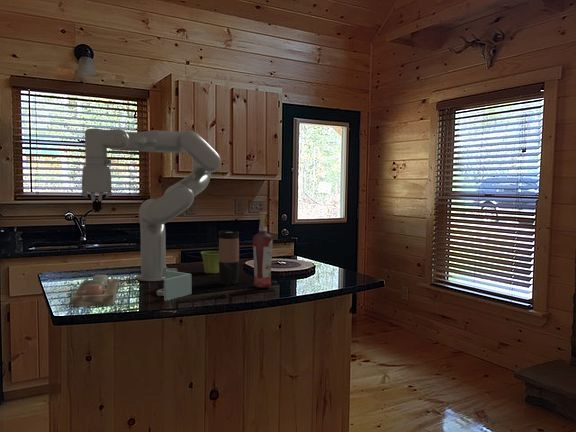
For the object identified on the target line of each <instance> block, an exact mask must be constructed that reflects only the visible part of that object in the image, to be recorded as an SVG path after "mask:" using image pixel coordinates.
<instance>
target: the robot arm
mask: <svg viewBox="0 0 576 432" xmlns="http://www.w3.org/2000/svg"><path fill="white" fill-rule="evenodd" d="M108 149H110V150H112V151H115V152H116V151H119V152H121V151H122V152H123V151H125V152H146V153H170V154H174V153H175V154H188V155H189V156H191V158H192V159H193V160H192V170H191V172H190V173H189V174H188V175H187V176H184V177H183V178H182V179H181V180H179V181H177V182H175V183H174V184H172V185H171V186H169V187H168V188H166V190H165V191H164V193H163V195H161V196H159V197H158V198H157V199H156V198H148V199H146V200H145V201H143V202H142V203H141V205H140V207H139V210H138V211H139V212H138V218H139V225H140V231H139V232H140V274H137V276H136V279H137V280H139V281H141V282H161V281H164V279H165V270H168V271H175V272H178V268H174V267H173V268H169V267H168V266H167V265H166V263H167V261H166V258H167V257H166V256H167V255H166V254H167V253H166V247H167V246H166V243H167V242H166V239H167V238H166V234H167V233H166V225H165V224H167V223H168V222H169V221H172V220H173V219H174V218H176V217H177V216H179V215H180V214H183V212H185V211H186V210H188V209H189V208H190V207H191V206H192V205H193V203H194V200H195V197H196V196H198V195H199V194H201V193H202V192H203V191H204V190H206V188H207V187H208V185H209V184H210V181H211V176H212V174H213V173H215V172H217V171H219V170H220V168H221V166H222V159H221V156H220V154H218V152H217V151H216V150H215V149H214V148H213V147H212V146H211V145H210V144H209V143H208V142H207V141H206V140H205V139H203V137H202V136H201V135H200V134H199V133H197V132H196V131H193V130H186V131H185V130H184V131H174V130H173V131H172V130H171V131H170V130H160V129H159V130H155V129H154V130H147V131H133V132H132V131H125V130H124V129H121V128H115V129H102V128H87V129H86V130H85V132H84V153H85V154H84V155H85V156H84V157H85V159H84V160H85V165H84V166H83V169H82V175H81V196H82V197H86V198H87V199H90V201H91V202H92V210H93V212H94V213H100V212H101V211H102V210H103V209H102V208H103V206H102V201H103V200H104V199H105V198H108V197H112V196H113V192H112V189H113V188H112V187H113V186H112V184H113V183H112V172H111V167H110V166H108V165H109V164H112V159H110V158H109V159H108ZM96 194H98V198H96Z"/></svg>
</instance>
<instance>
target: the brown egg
mask: <svg viewBox="0 0 576 432" xmlns="http://www.w3.org/2000/svg"><path fill="white" fill-rule="evenodd" d="M86 291H87V295H101V294H103V287H102V284H90V285H87V286H86Z"/></svg>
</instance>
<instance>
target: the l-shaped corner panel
mask: <svg viewBox="0 0 576 432" xmlns="http://www.w3.org/2000/svg"><path fill="white" fill-rule="evenodd" d="M192 276H193V275H192V273H187V272H180V271H177V272H175V271H168V270H165V279H164V280H163V288H161V289H158V290H156V295H157V296H158V297H161V296H164V297H163V301H164V302H168V301H171V299H172V300H175V299H178V297H179V298H182V297H185V296H189V295H192V287H193V286H192V285H193V283H192V278H193V277H192ZM174 298H175V299H174ZM167 300H168V301H167Z"/></svg>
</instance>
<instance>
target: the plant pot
mask: <svg viewBox="0 0 576 432" xmlns="http://www.w3.org/2000/svg"><path fill="white" fill-rule="evenodd" d="M200 254H201V257H202V263H203V269H204V270H203V272H204V273H205V274H213V273H214V274H219V250H206V251H205V250H203V251H200Z"/></svg>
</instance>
